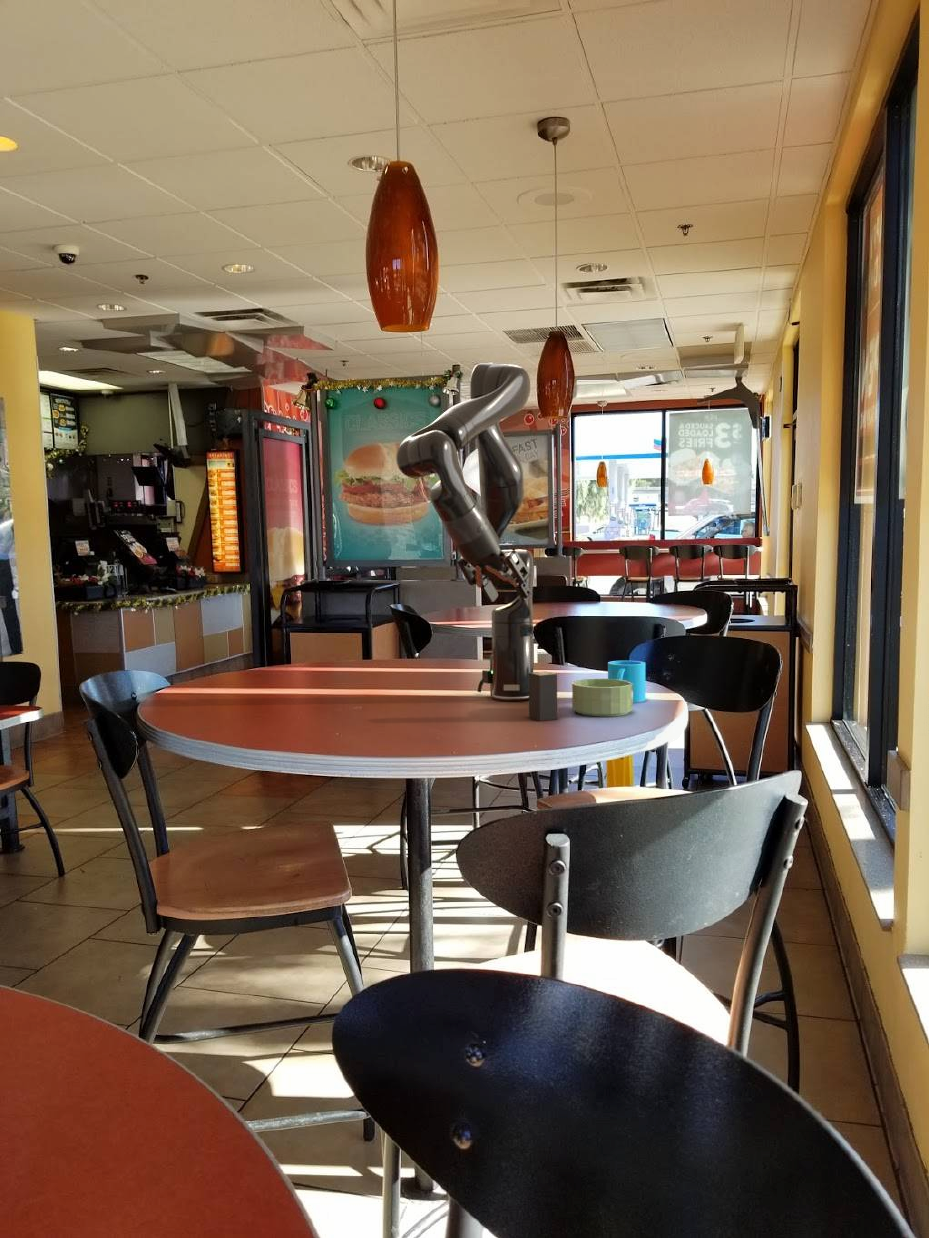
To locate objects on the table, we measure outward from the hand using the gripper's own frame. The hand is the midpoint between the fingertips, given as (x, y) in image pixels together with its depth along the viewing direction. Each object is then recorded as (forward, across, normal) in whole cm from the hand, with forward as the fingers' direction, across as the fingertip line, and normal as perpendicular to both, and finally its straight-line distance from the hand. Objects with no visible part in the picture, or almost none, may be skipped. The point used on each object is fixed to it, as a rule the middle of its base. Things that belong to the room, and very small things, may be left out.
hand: (510, 598), depth 175 cm
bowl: (+33, -3, -3) cm, 34 cm away
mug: (+42, +2, -14) cm, 44 cm away
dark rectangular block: (+25, +1, +7) cm, 26 cm away
